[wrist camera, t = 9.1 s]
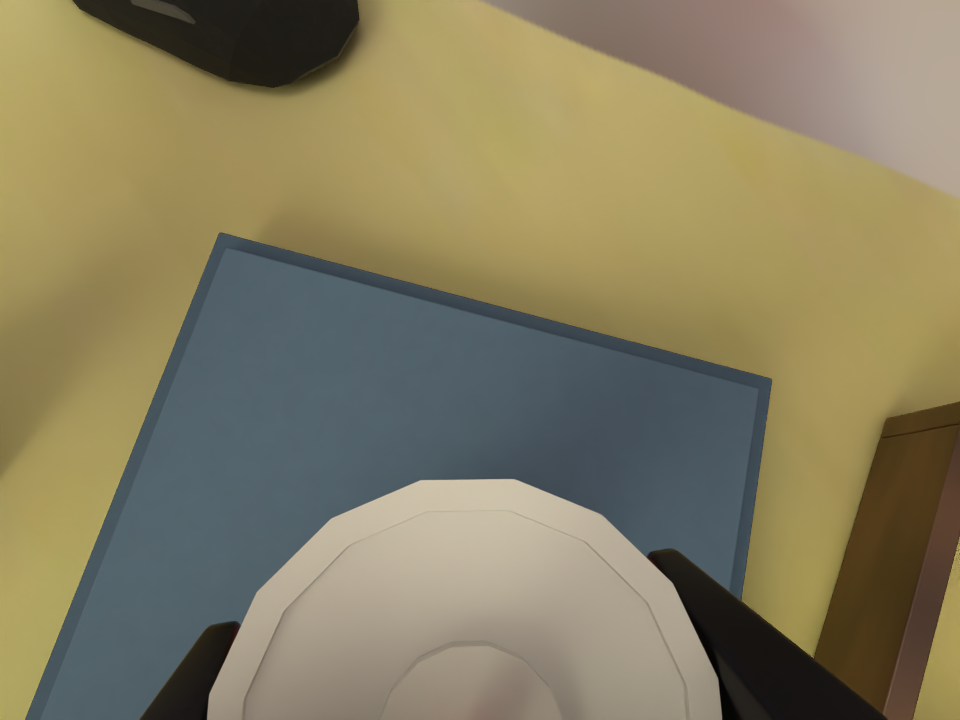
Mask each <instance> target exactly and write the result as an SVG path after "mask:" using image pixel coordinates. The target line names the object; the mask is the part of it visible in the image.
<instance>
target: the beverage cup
mask: <svg viewBox="0 0 960 720" xmlns="http://www.w3.org/2000/svg"><path fill="white" fill-rule="evenodd" d="M207 720H722V711H721V702H720V692H719V682H718V677H717V675H716V673H715V671H714V669H713V667H712V665H711V663H710V661H709V658H708V656H707V654H706V652H705V650H704V648H703V646H702V644H701V642H700V640H699V637H698V635H697V633H696V631H695V629H694V627H693V625H692V623H691V621H690V619H689V616H688V614H687V612H686V610H685V608H684V606H683V604H682V602H681V600H680V598H679V595H678V593H677V591H676V589H675V587H674V585H673V583H672V582H671V581H670V580H669V579H668V578H667V577H666V576H665V575H664V574H663V573H662V572H661V571H660V570H659V569H657V568H656V567H655V566H654V565H653V564H652V563H651V562H650V561H649V560H648V559H647V558H646V557H645V556H644V555H643V554H642V553H641V552H640V551H639V550H638V549H637V548H636V547H635V546H634V545H633V544H632V543H631V542H630V541H628V540H627V539H626V538H625V537H624V536H623V535H622V534H621V533H620V532H619V531H618V530H617V529H616V528H615V527H614V526H613V525H612V524H611V523H610V522H609V521H608V520H607V519H606V518H605V517H604V516H603V515H601V514H599V513H597V512H594V511H592V510H589V509H587V508H584V507H582V506H579V505H577V504H574V503H572V502H570V501H567V500H565V499H562V498H560V497H557V496H555V495H552V494H550V493H547V492H545V491H542V490H540V489H538V488H535V487H533V486H530V485H528V484H525V483H523V482H520V481H518V480H515V479H478V480H420V481H418V482H415V483H413V484H411V485H408V486H406V487H404V488H401V489H399V490H397V491H394V492H392V493H390V494H387V495H385V496H383V497H380V498H378V499H376V500H373V501H371V502H369V503H366V504H364V505H362V506H359V507H357V508H355V509H352V510H350V511H348V512H345V513H343V514H341V515H338V516H336V517H334V518H331V519H330V520H329V521H328V522H327V523H326V524H325V525H324V526H323V527H322V528H321V529H320V530H319V531H318V532H317V533H316V534H315V535H314V536H313V537H312V538H311V539H310V540H309V541H308V542H307V543H306V544H305V545H304V546H303V547H302V548H301V549H300V550H299V551H298V552H297V553H296V554H295V555H294V556H293V557H292V558H291V559H290V560H289V561H288V562H287V563H286V564H285V565H284V566H283V567H282V568H281V569H280V570H279V571H278V572H277V573H276V574H275V575H274V576H273V577H272V578H271V579H270V580H269V581H268V582H267V583H266V584H265V585H263V586H262V587H261V588H260V589H259V590H258V591H257V593H256V595H255V597H254V599H253V601H252V603H251V606H250V608H249V610H248V612H247V614H246V616H245V619H244V621H243V623H242V625H241V627H240V629H239V631H238V634H237V636H236V638H235V640H234V642H233V644H232V647H231V649H230V651H229V653H228V655H227V657H226V659H225V662H224V664H223V666H222V668H221V670H220V672H219V674H218V677H217V679H216V681H215V683H214V685H213V687H212V690H211V692H210V694H209V701H208V713H207Z"/></svg>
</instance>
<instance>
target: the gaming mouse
mask: <svg viewBox="0 0 960 720" xmlns="http://www.w3.org/2000/svg"><path fill="white" fill-rule="evenodd" d="M73 1H74V2H75V4H76V5H77V6H78V7H79V8H80V9H81V10H83V11H85V12H87V13H89V14H91V15H93V16H95V17H97V18H99V19H100V20H102V21H104V22H106V23H108V24H110V25H112V26H114V27H116V28H117V29H119V30H122V31H124V32H126V33H128V34H130V35H132V36H135V37H137V38H139V39H141V40H143V41H146V42H148V43H150V44H152V45H154V46H156V47H159V48H161V49H163V50H165V51H167V52H169V53H171V54H173V55H175V56H176V57H178V58H180V59H182V60H184V61H186V62H188V63H190V64H192V65H194V66H196V67H198V68H201V69H203V70H205V71H208V72H210V73H212V74H215V75H217V76H219V77H222V78H224V79H227V80H229V81H234V82H241V83H247V84H254V85H260V86H267V87H273V88H274V87H278V86H281V85H285V84H289V83H292V82H294V81H296V80H298V79H300V78H302V77H304V76H306V75H308V74H310V73H312V72H314V71H316V70H318V69H320V68H322V67H324V66H326V65H328V64H330V63H332V62H334V61H336V60H338V58H339V57H340V55H341V53H342V51H343V50H344V48H345V46H346V45H347V43H348V41H349V40H350V38H351V36H352V34H353V33H354V31H355V29H356V27H357V25H358V22H359V12H358V3H357V0H73Z"/></svg>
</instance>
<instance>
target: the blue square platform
mask: <svg viewBox="0 0 960 720" xmlns="http://www.w3.org/2000/svg"><path fill="white" fill-rule="evenodd" d="M771 384H772V379H770V378H767V377H763V376H759V375H756V374H752V373H748V372H744V371H741V370H737V369H733V368H729V367H726V366H722V365H718V364H714V363H711V362H707V361H703V360H699V359H695V358H692V357H688V356H684V355H680V354H677V353H673V352H669V351H665V350H662V349H658V348H654V347H650V346H646V345H643V344H639V343H635V342H631V341H628V340H624V339H620V338H616V337H613V336H609V335H605V334H601V333H598V332H594V331H590V330H586V329H582V328H579V327H575V326H571V325H567V324H564V323H560V322H556V321H552V320H549V319H545V318H541V317H537V316H533V315H530V314H526V313H522V312H518V311H515V310H511V309H507V308H503V307H500V306H496V305H492V304H488V303H485V302H481V301H477V300H473V299H469V298H466V297H462V296H458V295H454V294H451V293H447V292H443V291H439V290H436V289H432V288H428V287H424V286H421V285H417V284H413V283H409V282H405V281H402V280H398V279H394V278H390V277H387V276H383V275H379V274H375V273H372V272H368V271H364V270H360V269H356V268H353V267H349V266H345V265H341V264H338V263H334V262H330V261H326V260H323V259H319V258H315V257H311V256H308V255H304V254H300V253H296V252H292V251H289V250H285V249H281V248H277V247H274V246H270V245H266V244H262V243H259V242H255V241H251V240H247V239H244V238H240V237H236V236H232V235H228V234H225V233H219V235H218V237H217V240H216V242H215V245H214V247H213V250H212V252H211V255H210V257H209V260H208V262H207V265H206V267H205V270H204V272H203V275H202V277H201V280H200V282H199V285H198V287H197V290H196V292H195V295H194V297H193V300H192V302H191V305H190V307H189V310H188V312H187V315H186V317H185V320H184V322H183V325H182V327H181V330H180V332H179V335H178V337H177V340H176V342H175V345H174V347H173V350H172V352H171V355H170V357H169V360H168V362H167V365H166V367H165V370H164V372H163V375H162V378H161V380H160V383H159V385H158V388H157V390H156V393H155V395H154V398H153V400H152V403H151V405H150V408H149V410H148V413H147V415H146V418H145V420H144V423H143V425H142V428H141V430H140V433H139V435H138V438H137V440H136V443H135V445H134V448H133V450H132V453H131V455H130V458H129V460H128V463H127V465H126V468H125V470H124V473H123V475H122V478H121V480H120V483H119V485H118V488H117V490H116V493H115V495H114V498H113V500H112V503H111V505H110V508H109V510H108V513H107V515H106V518H105V520H104V523H103V525H102V528H101V530H100V533H99V535H98V538H97V541H96V543H95V546H94V548H93V551H92V553H91V556H90V558H89V561H88V563H87V566H86V568H85V571H84V573H83V576H82V578H81V581H80V583H79V586H78V588H77V591H76V593H75V596H74V598H73V601H72V603H71V606H70V608H69V611H68V613H67V616H66V618H65V621H64V623H63V626H62V628H61V631H60V633H59V636H58V638H57V641H56V643H55V646H54V648H53V651H52V653H51V656H50V658H49V661H48V663H47V666H46V668H45V671H44V673H43V676H42V678H41V681H40V683H39V686H38V688H37V691H36V693H35V696H34V698H33V701H32V704H31V706H30V709H29V711H28V714H27V716H26V719H25V720H139V719H140V717H141V716H142V715H143V713H144V712H145V711H146V709H147V708H148V706H149V705H150V704H151V702H152V701H153V700H154V698H155V697H156V696H157V694H158V693H159V691H160V690H161V689H162V687H163V686H164V685H165V683H166V682H167V680H168V679H169V678H170V676H171V675H172V674H173V672H174V671H175V670H176V668H177V667H178V665H179V664H180V663H181V661H182V660H183V659H184V657H185V656H186V655H187V653H188V652H189V650H190V649H191V648H192V646H193V645H194V644H195V642H196V641H197V639H198V638H199V637H200V635H201V634H202V633H203V631H204V630H205V629H206V628H207V627H208V626H210V625H212V624H217V623H223V622H229V621H237V622H239V623H240V625H242V623H243V621H244V619H245V616H246V614H247V612H248V610H249V608H250V606H251V603H252V601H253V599H254V597H255V595H256V593H257V591H258V590H259V589H260V588H261V587H262V586H263V585H265V584H266V583H267V582H268V581H269V580H270V579H271V578H272V577H273V576H274V575H275V574H276V573H277V572H278V571H279V570H280V569H281V568H282V567H283V566H284V565H285V564H286V563H287V562H288V561H289V560H290V559H291V558H292V557H293V556H294V555H295V554H296V553H297V552H298V551H299V550H300V549H301V548H302V547H303V546H304V545H305V544H306V543H307V542H308V541H309V540H310V539H311V538H312V537H313V536H314V535H315V534H316V533H317V532H318V531H319V530H320V529H321V528H322V527H323V526H324V525H325V524H326V523H327V522H328V521H329V520H330V519H331V518H334V517H336V516H338V515H341V514H343V513H345V512H348V511H350V510H352V509H355V508H357V507H359V506H362V505H364V504H366V503H369V502H371V501H373V500H376V499H378V498H380V497H383V496H385V495H387V494H390V493H392V492H394V491H397V490H399V489H401V488H404V487H406V486H408V485H411V484H413V483H415V482H418V481H420V480H478V479H515V480H518V481H520V482H523V483H525V484H528V485H530V486H533V487H535V488H538V489H540V490H542V491H545V492H547V493H550V494H552V495H555V496H557V497H560V498H562V499H565V500H567V501H570V502H572V503H574V504H577V505H579V506H582V507H584V508H587V509H589V510H592V511H594V512H597V513H599V514H601V515H603V516H604V517H605V518H606V519H607V520H608V521H609V522H610V523H611V524H612V525H613V526H614V527H615V528H616V529H617V530H618V531H619V532H620V533H621V534H622V535H623V536H624V537H625V538H626V539H627V540H628V541H630V542H631V543H632V544H633V545H634V546H635V547H636V548H637V549H638V550H639V551H640V552H641V553H642V554H643V555H644V556H645V557H646V558H647V555H648V553H649V552H651V551H656V550H662V549H668V548H673V549H676V550H678V551H679V552H680V553H682V554H683V555H684V556H685V557H687V558H688V559H689V560H690V561H692V562H693V563H694V564H695V565H697V566H698V567H699V568H700V569H702V570H703V571H704V572H705V573H707V574H708V575H709V576H710V577H712V578H713V579H714V580H716V581H717V582H718V583H719V584H721V585H722V586H723V587H724V588H726V589H727V590H728V591H729V592H731V593H732V594H733V595H734V596H736V597H737V598H738V599H739V600H741V598H742V591H743V584H744V577H745V570H746V563H747V556H748V548H749V541H750V534H751V527H752V520H753V513H754V506H755V498H756V491H757V484H758V477H759V470H760V463H761V456H762V448H763V441H764V434H765V427H766V420H767V413H768V406H769V398H770V391H771Z"/></svg>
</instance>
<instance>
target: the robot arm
mask: <svg viewBox="0 0 960 720" xmlns="http://www.w3.org/2000/svg"><path fill="white" fill-rule="evenodd" d="M647 559H648V560H649V561H650V562H651V563H652V564H653V565H654V566H655V567H656V568H657V569H659V570H660V571H661V572H662V573H663V574H664V575H665V576H666V577H667V578H668V579H669V580H670V581H671V582H672V583H673V585H674V587H675V589H676V591H677V593H678V595H679V598H680V600H681V602H682V604H683V606H684V608H685V610H686V612H687V614H688V616H689V619H690V621H691V623H692V625H693V627H694V629H695V631H696V633H697V635H698V637H699V640H700V642H701V644H702V646H703V648H704V650H705V652H706V654H707V656H708V658H709V661H710V663H711V665H712V667H713V669H714V671H715V673H716V675H717V677H718V682H719V692H720V702H721V711H722V720H888V718H887V717H886V716H885V715H884V714H882V713H881V712H880V711H879V710H877V709H876V708H875V707H874V706H872V705H871V704H870V703H869V702H867V701H866V700H865V699H864V698H862V697H861V696H860V695H859V694H857V693H856V692H855V691H853V690H852V689H851V688H850V687H848V686H847V685H846V684H845V683H843V682H842V681H841V680H840V679H838V678H837V677H836V676H835V675H833V674H832V673H831V672H830V671H828V670H827V669H826V668H825V667H823V666H822V665H821V664H820V663H818V662H817V661H816V660H815V659H813V658H812V657H811V656H810V655H808V654H807V653H806V652H805V651H803V650H802V649H801V648H800V647H798V646H797V645H796V644H795V643H793V642H792V641H791V640H790V639H788V638H787V637H786V636H785V635H783V634H782V633H781V632H779V631H778V630H777V629H776V628H774V627H773V626H772V625H771V624H769V623H768V622H767V621H766V620H764V619H763V618H762V617H761V616H759V615H758V614H757V613H756V612H754V611H753V610H752V609H751V608H749V607H748V606H747V605H746V604H744V603H743V602H742V601H741V600H739V599H738V598H737V597H736V596H734V595H733V594H732V593H731V592H729V591H728V590H727V589H726V588H724V587H723V586H722V585H721V584H719V583H718V582H717V581H716V580H714V579H713V578H712V577H710V576H709V575H708V574H707V573H705V572H704V571H703V570H702V569H700V568H699V567H698V566H697V565H695V564H694V563H693V562H692V561H690V560H689V559H688V558H687V557H685V556H684V555H683V554H682V553H680V552H679V551H678V550H676V549H673V548H668V549H662V550H656V551H651V552H649V553H648V555H647ZM240 627H241V625H240V623H239V622H237V621H229V622H223V623H217V624H212V625H210V626H208V627H207V628H206V629H205V630H204V631H203V633H202V634H201V635H200V637H199V638H198V639H197V641H196V642H195V644H194V645H193V646H192V648H191V649H190V650H189V652H188V653H187V655H186V656H185V657H184V659H183V660H182V661H181V663H180V664H179V665H178V667H177V668H176V670H175V671H174V672H173V674H172V675H171V676H170V678H169V679H168V680H167V682H166V683H165V685H164V686H163V687H162V689H161V690H160V691H159V693H158V694H157V696H156V697H155V698H154V700H153V701H152V702H151V704H150V705H149V706H148V708H147V709H146V711H145V712H144V713H143V715H142V716H141V717H140V719H139V720H207V713H208V701H209V694H210V692H211V690H212V687H213V685H214V683H215V681H216V679H217V677H218V674H219V672H220V670H221V668H222V666H223V664H224V662H225V659H226V657H227V655H228V653H229V651H230V649H231V647H232V644H233V642H234V640H235V638H236V636H237V634H238V631H239V629H240Z"/></svg>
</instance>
